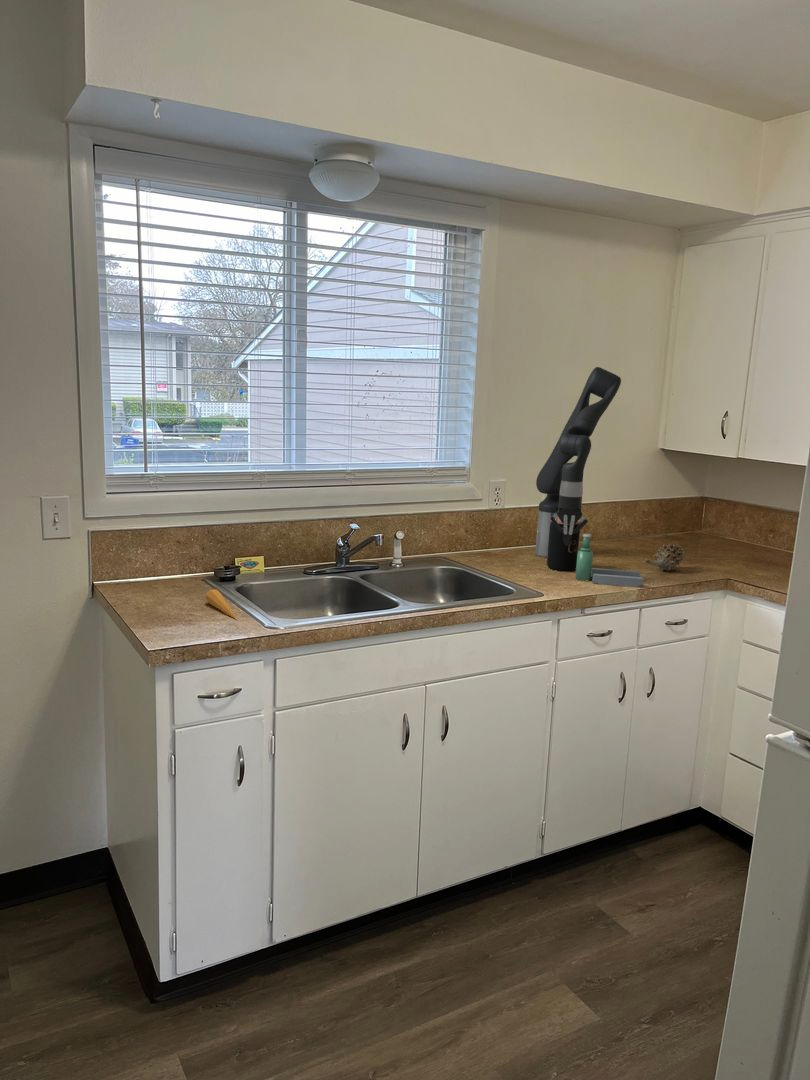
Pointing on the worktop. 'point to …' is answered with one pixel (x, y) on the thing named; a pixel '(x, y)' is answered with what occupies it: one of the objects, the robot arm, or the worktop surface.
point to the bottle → (584, 559)
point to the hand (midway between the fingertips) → (566, 544)
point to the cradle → (617, 577)
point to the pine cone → (667, 557)
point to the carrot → (219, 602)
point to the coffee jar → (562, 549)
